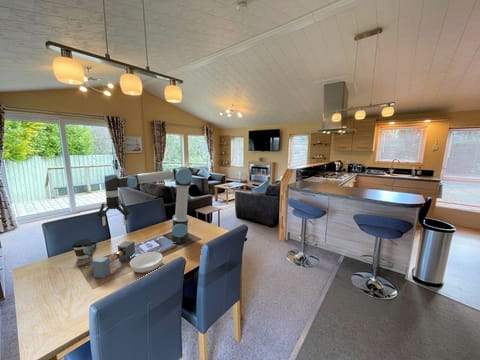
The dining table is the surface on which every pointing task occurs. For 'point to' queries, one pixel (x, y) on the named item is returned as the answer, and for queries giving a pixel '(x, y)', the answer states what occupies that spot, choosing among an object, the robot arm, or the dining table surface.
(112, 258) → the tube
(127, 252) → the sleeve
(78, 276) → the dining table surface
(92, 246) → the wine glass
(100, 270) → the socket
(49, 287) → the dining table surface
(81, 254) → the coffee cup
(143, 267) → the bowl
